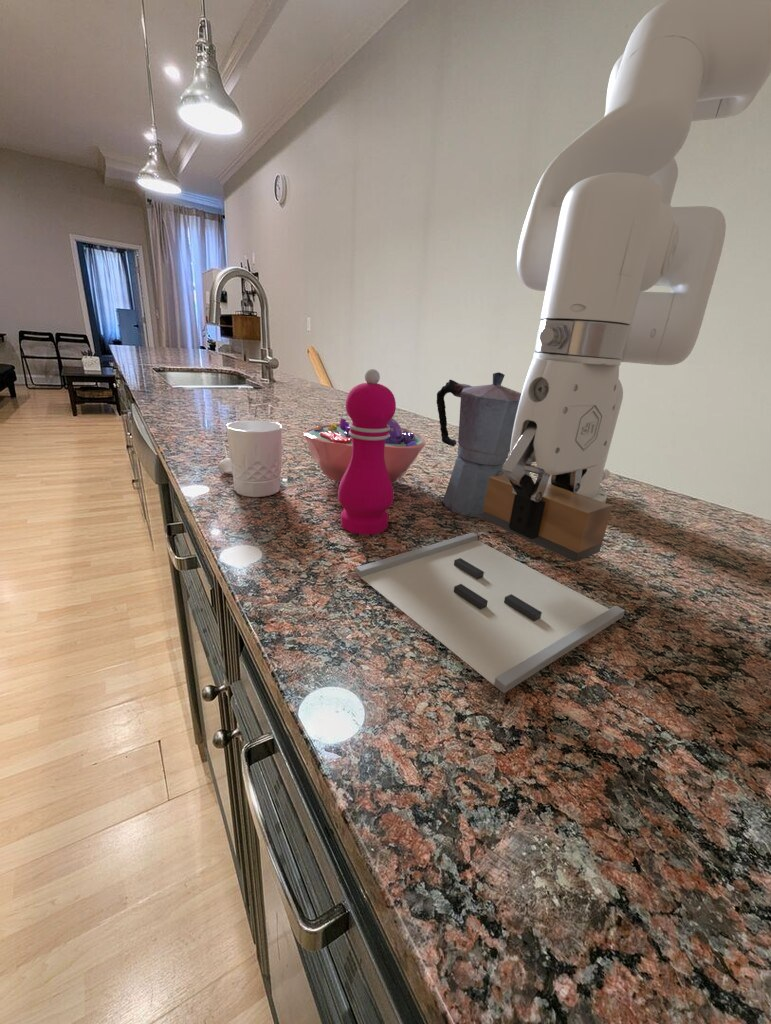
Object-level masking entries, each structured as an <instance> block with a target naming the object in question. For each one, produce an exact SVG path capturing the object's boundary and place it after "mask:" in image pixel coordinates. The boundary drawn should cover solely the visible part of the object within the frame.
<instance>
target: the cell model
mask: <svg viewBox="0 0 771 1024" xmlns="http://www.w3.org/2000/svg"><path fill="white" fill-rule="evenodd" d="M350 423H351V422H348V421H347V419H346V418H340V422H339V423H334V422H333V423H331V424H317V425H316V426H313V427H311V428H307V429H306V430H304V431H303V433H302V434H303V437H304V440H305V442H306V444H307V445H306V446H307V447H308V450H309V453H310V455H311V456H312V458H313V460H314V462H315V463H316V464H317V465H318V467H319V468H320V469H321V471H322V473H323V474H324V475H325V476H326V477H327V478H328V479H330V480H331V481H334V482H337V483H340V482H341V479H342V477H343V475H344V473H345V472H346V470H347V468H348V466H349V463H350V460H351V456H352V437H351V436H350V435H349V431H350V427H349V424H350ZM387 425H389V426H390V430H389V435H390V436H389V438H387V439H386V441H385V447H384V459H385V464H386V468H387V471H388V473H389V476H390V479H391V481H392V483H394V482H396V481H397V480H399V479H401V478H403V477H404V475H405V474H406V473H407V472H408V470H409V469H410V467H411V466H412V465H413V464H414V462H416V459H418V456H419V455H420V453H421V452H422V451H423V449H424V447H425V446H426V445H427V441H426V439H425V437H424V436H422V435H420V434H418V433H415V432H413V431H411V430H409V429H407V428H403V427H401V425H400V424H399V422H398V421H397V420H396V419H394V418H393V417H392V418H391V419H390V420H389V422H388V424H387Z"/></svg>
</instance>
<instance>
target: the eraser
mask: <svg viewBox="0 0 771 1024" xmlns="http://www.w3.org/2000/svg"><path fill="white" fill-rule="evenodd" d="M531 478H532V480H533V482H534V484H535V483H536V479H535V478H533V477H531ZM512 488H513V486H512V485H511V483H510V480H509V479H508V478H507V477H506V476H505V474H503V475H498V476H492V477H489V480H488V486H487V492H486V498H485V503H484V509H483V515H482V517H481V520H483V521H485V522H487V523H489V524H491V525H493V526H496V527H498V528H500V529H502V530H503V531H507V532H509V533H511V534H513V535H514V536H516V537H519V538H522V539H524V540H526V541H528V542H530V543H532V544H535V545H537V546H539V547H540V548H543V549H544V550H545V549H546V550H548V551H550V552H552V553H554V554H556V555H558V556H560V557H563V558H564V559H566V560H569V561H571V562H573V563H577V562H579V561H582V560H585V559H587V558H589V557H591V556H593V555H596V554H598V553H600V552H601V548H602V545H603V542H604V539H605V534H606V531H607V528H608V524H609V520H610V517H611V513H612V509H613V506H614V505H613V504H610V503H607V502H605V503H604V502H601V501H598V500H595V499H592V498H589V497H586V496H583V495H580V494H577V493H575V492H572V491H569V490H566V489H563V488H560V487H557V486H554V485H551V484H548V483H547V486H546V489H545V491H544V494H543V497H542V499H541V501H544V502H545V507H544V511H543V516H542V520H541V524H540V529H539V533H538V537H537V538H535V539H530V538H528V537H525V536H523V535H521V534H519V533H517V532H514V531H512V530H510V528H509V523H510V518H511V513H512V508H513V502H514V497H515V494H513V493H512Z"/></svg>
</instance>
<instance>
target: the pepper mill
mask: <svg viewBox="0 0 771 1024" xmlns="http://www.w3.org/2000/svg"><path fill="white" fill-rule="evenodd" d="M380 379H381V375H380V372H379V371H378V370H377V369H375V368H370V369H368V370H366V371H365V373H364V380H365V382H361V383H359V384H356V385H355V386H353V387H352V388H351V389H350V390H349V391H348V393H347V395H346V399H345V412H346V415H348V417H349V418H350V420H351V422H349V423H350V424H349V427H350V431H349V435H350V436H351V437H352V456H351V460H350V463H349V466H348V468H347V470H346V472H345V473H344V475H343V477H342V479H341V482H339V486H338V491H337V500H338V502H339V505H340V506H341V507H342V508H343V510H341V512H340V526H341V528H342V529H344V530H345V531H347V532H349V533H351V534H357V535H376V534H381V533H382V532H385V531H386V530H387V529H388V527H389V513H388V512H387V510H388V509H389V508H390V507H391V506H392V504H393V503H394V496H395V495H394V493H395V491H394V487H393V482H392V481H391V479H390V476H389V473H388V471H387V468H386V464H385V459H384V447H385V441H386V439H387V438H389V436H390V435H389V430H390V426H389V425H387V424H388V422H389V420H390V419H391V418H393V417H394V415H395V413H396V410H397V409H396V407H397V404H396V403H397V402H396V398H395V394H393V392H392V391H391V390H390V388H388V387H387V386H385V385H384V384H381V383H379V382H380Z"/></svg>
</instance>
